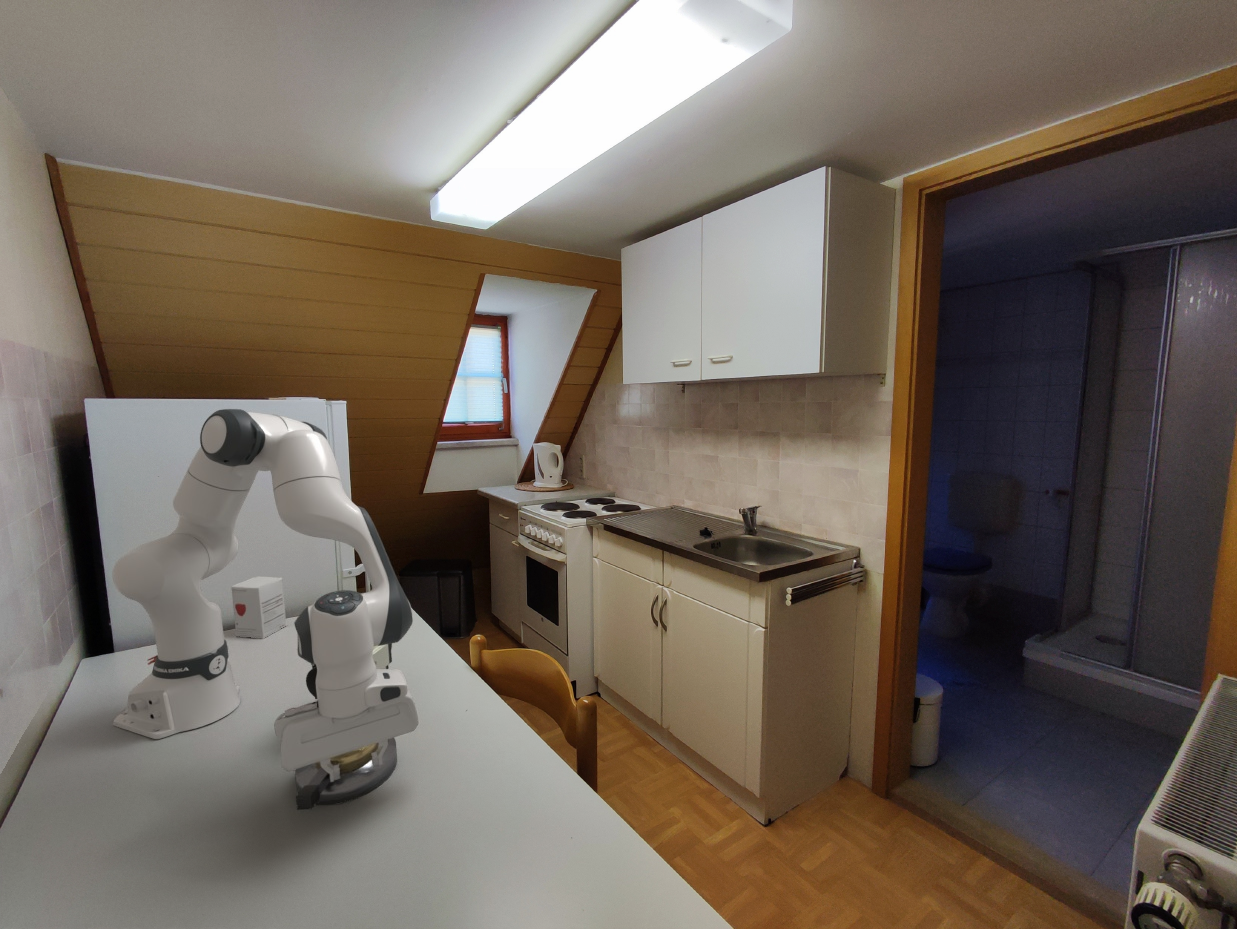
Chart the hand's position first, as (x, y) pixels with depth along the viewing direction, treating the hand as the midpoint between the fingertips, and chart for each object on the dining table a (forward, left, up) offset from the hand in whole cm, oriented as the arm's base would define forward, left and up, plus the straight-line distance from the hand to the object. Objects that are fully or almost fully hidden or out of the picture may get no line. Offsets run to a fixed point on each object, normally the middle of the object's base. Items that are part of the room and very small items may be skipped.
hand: (356, 771), depth 90 cm
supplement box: (-70, +55, -5) cm, 89 cm away
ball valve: (-16, +22, -5) cm, 28 cm away
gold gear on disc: (-6, +5, -5) cm, 9 cm away
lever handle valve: (-5, +1, -1) cm, 5 cm away
